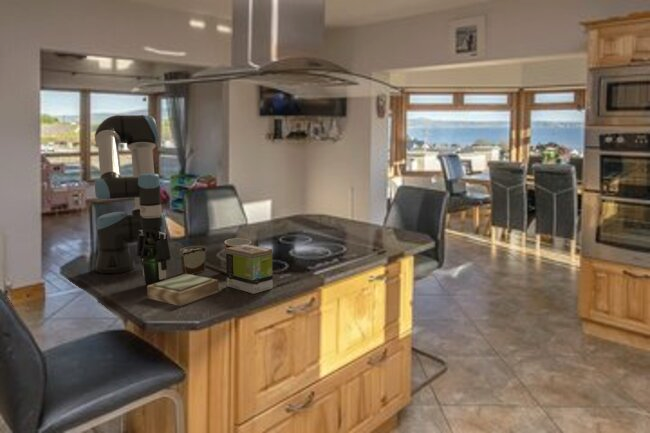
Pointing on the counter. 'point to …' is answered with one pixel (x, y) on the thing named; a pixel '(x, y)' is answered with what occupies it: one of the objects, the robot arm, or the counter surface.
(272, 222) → the counter surface
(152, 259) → the potion bottle
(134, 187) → the robot arm
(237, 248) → the tea box
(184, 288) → the pedestal base
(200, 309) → the counter surface
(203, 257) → the food container
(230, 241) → the plastic cup
